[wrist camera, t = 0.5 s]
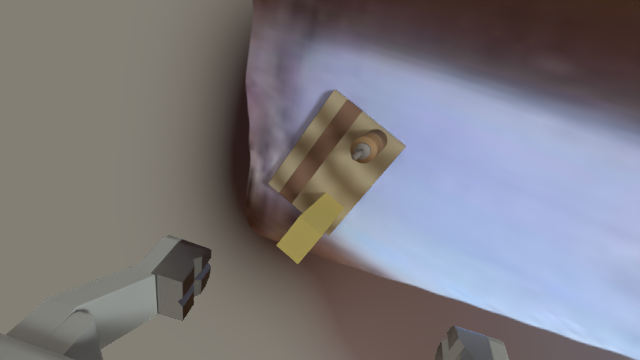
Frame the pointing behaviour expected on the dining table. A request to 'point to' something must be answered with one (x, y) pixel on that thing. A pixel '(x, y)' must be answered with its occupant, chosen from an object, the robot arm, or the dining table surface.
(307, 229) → the block
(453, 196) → the dining table surface
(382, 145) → the awl
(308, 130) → the plywood panel
